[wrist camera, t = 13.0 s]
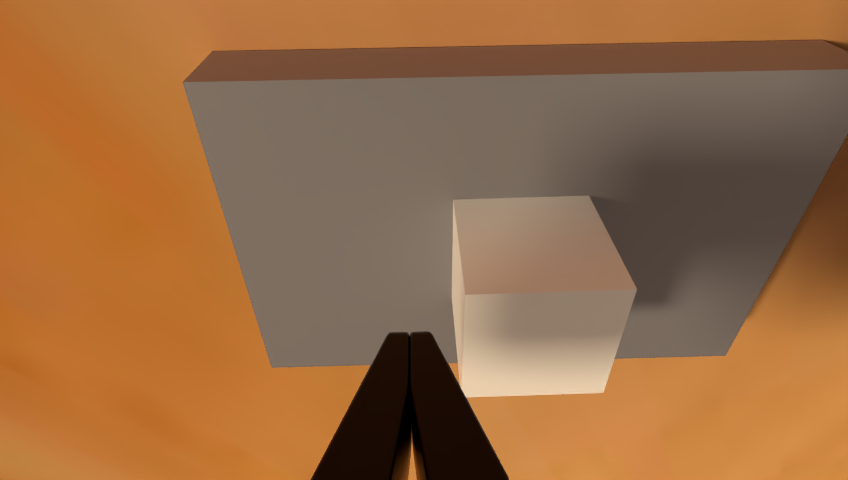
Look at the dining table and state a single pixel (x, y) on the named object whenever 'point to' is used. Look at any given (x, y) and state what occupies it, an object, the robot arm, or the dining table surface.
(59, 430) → the dining table surface
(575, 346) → the cream block
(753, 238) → the socket plate
